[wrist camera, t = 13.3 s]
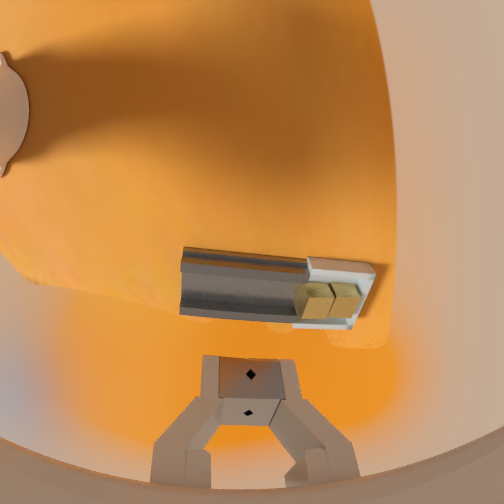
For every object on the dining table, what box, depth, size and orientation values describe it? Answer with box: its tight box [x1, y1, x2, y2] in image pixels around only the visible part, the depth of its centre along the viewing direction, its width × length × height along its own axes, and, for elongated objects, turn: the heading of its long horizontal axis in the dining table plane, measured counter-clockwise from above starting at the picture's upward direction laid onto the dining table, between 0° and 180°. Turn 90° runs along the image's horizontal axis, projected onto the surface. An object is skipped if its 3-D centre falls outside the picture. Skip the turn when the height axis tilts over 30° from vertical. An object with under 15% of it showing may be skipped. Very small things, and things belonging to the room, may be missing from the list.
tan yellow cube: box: [295, 282, 335, 319], centre depth 43 cm, size 4×4×4 cm
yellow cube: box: [327, 281, 361, 319], centre depth 44 cm, size 4×4×4 cm
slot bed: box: [180, 247, 310, 323], centre depth 43 cm, size 17×10×3 cm, turn 81°
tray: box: [292, 257, 377, 329], centre depth 45 cm, size 10×11×3 cm
